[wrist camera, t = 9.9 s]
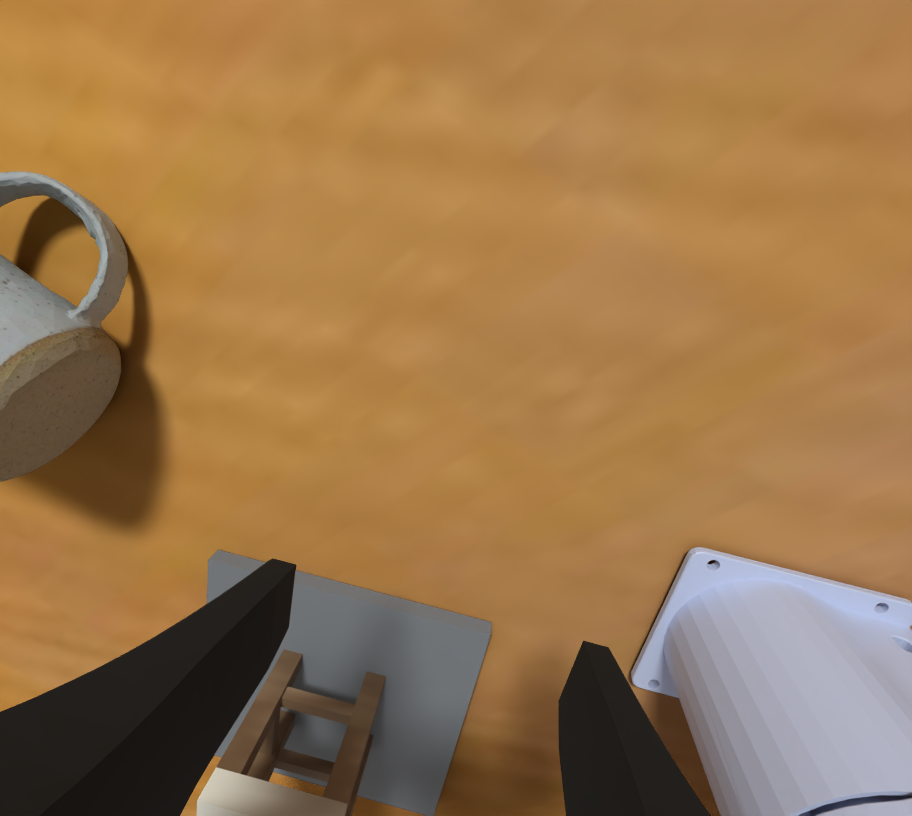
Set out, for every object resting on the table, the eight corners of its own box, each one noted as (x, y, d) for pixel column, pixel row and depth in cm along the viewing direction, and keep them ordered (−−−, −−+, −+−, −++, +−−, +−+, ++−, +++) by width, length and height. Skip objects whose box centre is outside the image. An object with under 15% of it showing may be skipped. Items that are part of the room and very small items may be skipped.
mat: (491, 622, 23) (490, 635, 22) (435, 801, 28) (433, 817, 27) (218, 549, 24) (208, 559, 23) (210, 738, 28) (201, 751, 28)
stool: (385, 676, 24) (336, 840, 17) (371, 747, 26) (321, 919, 19) (283, 649, 24) (197, 800, 18) (276, 721, 26) (195, 882, 20)
